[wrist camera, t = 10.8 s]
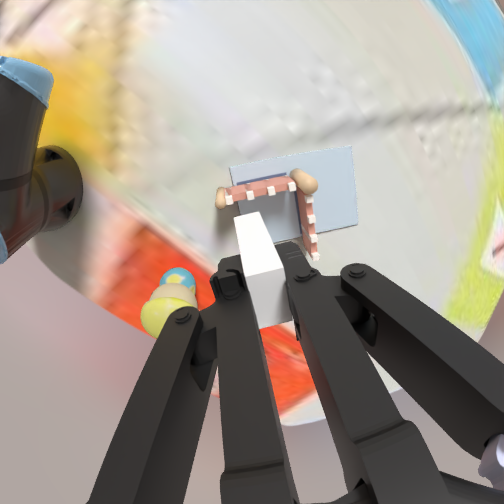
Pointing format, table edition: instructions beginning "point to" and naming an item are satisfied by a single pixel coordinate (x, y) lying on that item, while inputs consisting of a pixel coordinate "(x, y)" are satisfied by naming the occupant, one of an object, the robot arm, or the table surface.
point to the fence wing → (308, 223)
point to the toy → (168, 299)
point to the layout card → (285, 202)
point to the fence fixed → (266, 188)
